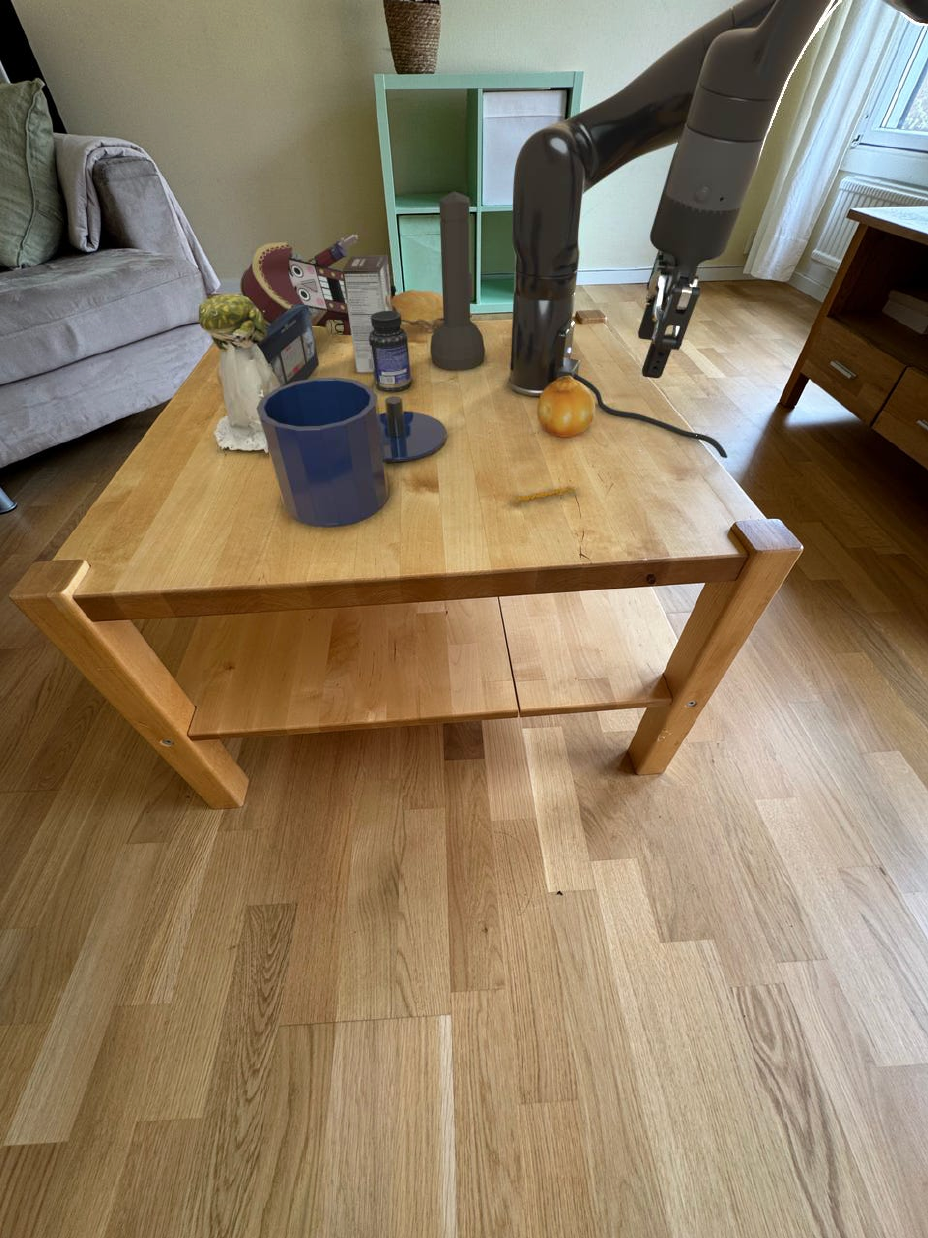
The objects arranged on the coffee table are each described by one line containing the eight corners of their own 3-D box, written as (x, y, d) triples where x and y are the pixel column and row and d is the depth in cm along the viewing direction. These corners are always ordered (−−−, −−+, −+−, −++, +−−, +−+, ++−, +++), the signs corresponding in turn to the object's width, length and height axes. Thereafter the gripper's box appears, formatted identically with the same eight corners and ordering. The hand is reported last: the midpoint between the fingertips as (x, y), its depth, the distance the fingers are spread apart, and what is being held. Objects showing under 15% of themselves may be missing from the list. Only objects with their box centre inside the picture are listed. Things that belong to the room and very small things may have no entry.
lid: (460, 426, 86) (459, 386, 82) (422, 473, 77) (419, 430, 72) (376, 412, 90) (371, 373, 85) (330, 455, 80) (322, 413, 76)
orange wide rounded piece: (480, 332, 117) (455, 302, 120) (485, 313, 114) (460, 282, 117) (407, 344, 110) (383, 312, 113) (411, 324, 106) (386, 291, 109)
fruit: (517, 416, 83) (549, 373, 77) (544, 400, 88) (575, 359, 82) (556, 457, 83) (591, 417, 77) (580, 438, 88) (615, 400, 82)
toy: (428, 315, 108) (282, 284, 88) (390, 351, 117) (251, 331, 97) (407, 245, 108) (257, 198, 88) (372, 287, 117) (229, 253, 97)
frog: (199, 436, 84) (148, 300, 71) (270, 405, 91) (236, 276, 78) (247, 462, 79) (201, 320, 66) (319, 427, 86) (291, 292, 72)
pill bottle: (418, 384, 97) (413, 314, 89) (391, 396, 93) (384, 324, 86) (394, 375, 100) (387, 306, 92) (367, 386, 96) (358, 315, 89)
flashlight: (436, 373, 100) (491, 367, 101) (427, 198, 82) (494, 194, 83) (426, 353, 107) (477, 347, 108) (416, 187, 89) (477, 183, 90)
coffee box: (363, 353, 107) (350, 254, 95) (397, 353, 107) (388, 253, 95) (356, 373, 100) (340, 269, 89) (392, 373, 100) (381, 269, 89)
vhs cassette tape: (277, 410, 90) (260, 344, 83) (259, 408, 91) (241, 342, 84) (322, 364, 103) (311, 304, 96) (307, 363, 103) (294, 303, 96)
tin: (405, 479, 75) (396, 386, 67) (357, 536, 67) (339, 438, 58) (319, 462, 79) (299, 371, 70) (263, 514, 70) (232, 418, 61)
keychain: (574, 490, 72) (571, 494, 73) (571, 483, 72) (568, 487, 73) (516, 502, 70) (515, 506, 71) (514, 495, 71) (512, 499, 71)
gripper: (757, 225, 49) (686, 394, 62) (733, 170, 58) (674, 330, 71) (671, 214, 49) (618, 385, 63) (659, 161, 58) (614, 322, 71)
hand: (648, 356), depth 67 cm, fingers open, 8 cm apart
